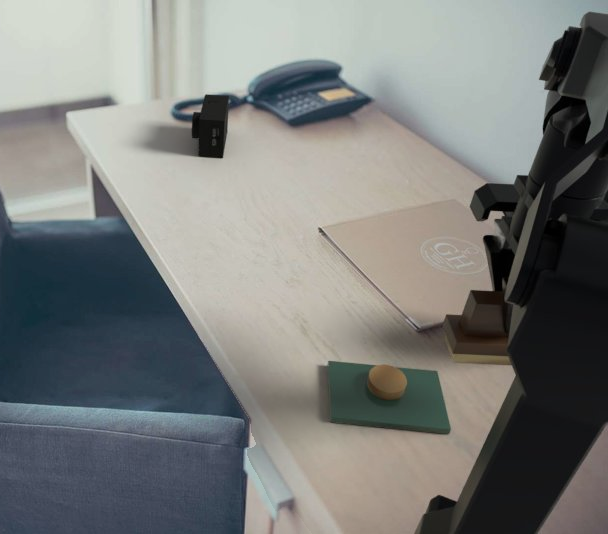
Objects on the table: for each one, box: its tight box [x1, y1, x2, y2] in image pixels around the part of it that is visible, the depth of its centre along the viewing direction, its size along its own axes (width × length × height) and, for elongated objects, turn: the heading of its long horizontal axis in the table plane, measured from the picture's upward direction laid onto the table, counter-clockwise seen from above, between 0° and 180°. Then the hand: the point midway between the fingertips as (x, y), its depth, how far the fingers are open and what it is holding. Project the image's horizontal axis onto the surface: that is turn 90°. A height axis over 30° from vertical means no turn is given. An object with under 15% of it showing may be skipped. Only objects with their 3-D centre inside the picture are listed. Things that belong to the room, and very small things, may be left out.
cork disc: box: [367, 364, 407, 400], centre depth 69 cm, size 4×4×1 cm
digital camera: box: [191, 93, 230, 159], centre depth 112 cm, size 10×5×7 cm, turn 174°
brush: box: [442, 289, 512, 366], centre depth 61 cm, size 4×10×7 cm, turn 88°
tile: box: [326, 360, 452, 435], centre depth 68 cm, size 8×12×1 cm, turn 84°
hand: (506, 324), depth 61 cm, fingers closed on brush, 2 cm apart
